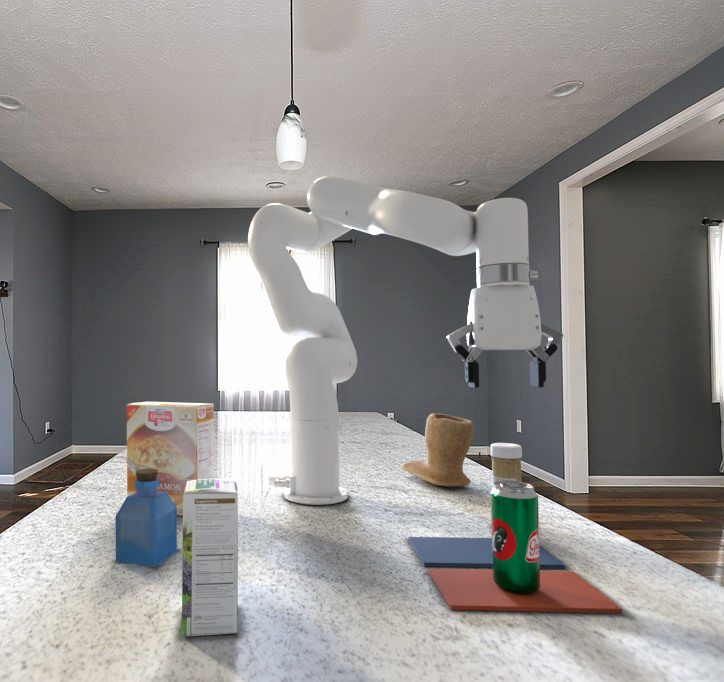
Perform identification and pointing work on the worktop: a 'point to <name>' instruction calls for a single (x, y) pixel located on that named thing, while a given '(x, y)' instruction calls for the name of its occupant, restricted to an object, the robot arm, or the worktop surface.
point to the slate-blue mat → (465, 552)
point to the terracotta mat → (552, 596)
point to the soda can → (515, 537)
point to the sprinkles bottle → (506, 462)
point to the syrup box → (210, 557)
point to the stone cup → (444, 451)
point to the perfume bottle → (146, 523)
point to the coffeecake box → (170, 445)
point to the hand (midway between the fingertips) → (505, 387)
